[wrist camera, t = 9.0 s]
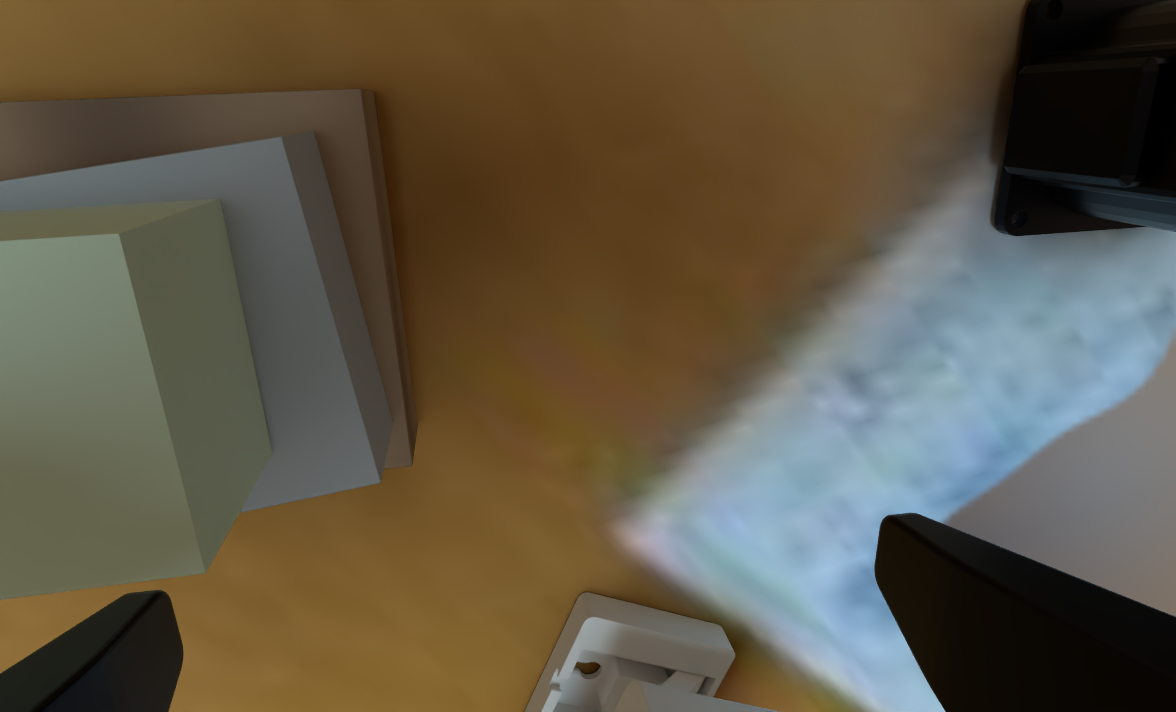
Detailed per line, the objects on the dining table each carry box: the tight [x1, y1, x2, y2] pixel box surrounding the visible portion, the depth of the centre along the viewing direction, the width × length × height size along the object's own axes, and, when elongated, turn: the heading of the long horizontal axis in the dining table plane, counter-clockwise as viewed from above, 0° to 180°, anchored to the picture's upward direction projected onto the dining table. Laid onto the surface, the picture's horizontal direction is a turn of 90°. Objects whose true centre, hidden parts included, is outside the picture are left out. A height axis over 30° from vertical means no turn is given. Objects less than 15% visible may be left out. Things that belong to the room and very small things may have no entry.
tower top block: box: [0, 131, 393, 513], centre depth 15 cm, size 7×7×3 cm
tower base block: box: [0, 89, 418, 469], centre depth 17 cm, size 9×9×3 cm
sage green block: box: [0, 199, 272, 600], centre depth 11 cm, size 5×5×4 cm
